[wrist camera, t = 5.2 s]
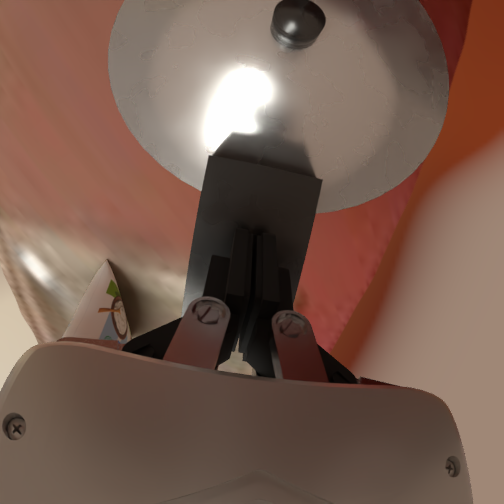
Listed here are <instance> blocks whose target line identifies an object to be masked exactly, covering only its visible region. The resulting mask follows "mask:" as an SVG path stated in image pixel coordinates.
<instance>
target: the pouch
mask: <svg viewBox="0 0 504 504" xmlns="http://www.w3.org/2000/svg"><path fill="white" fill-rule="evenodd" d="M63 337H77V338H89V339H102V340H118V343H120V344H126V343H127V342H128V341H130V340H132V337H131V331H130V328H129V324H128V321H127V317H126V313H125V309H124V305H123V302H122V298H121V295H120V292H119V289H118V286H117V282H116V280H115V277H114V274H113V272H112V269H111V267H110V265H109V263H108V260H106V261H105V262H104V264H103V265H102V266H101V267H100V269H99V270H98V271H97V273H96V274H95V276H94V277H93V279H92V281H91V282H90V284H89V286H88V288H87V289H86V291H85V293H84V295H83V297H82V299H81V301H80V303H79V305H78V307H77V309H76V311H75V313H74V315H73V318H72V320H71V321H70V323H69V325H68V327H67V329H66V331H65V333H64V335H63ZM63 337H62V338H63Z"/></svg>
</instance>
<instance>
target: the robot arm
mask: <svg viewBox="0 0 504 504" xmlns="http://www.w3.org/2000/svg"><path fill="white" fill-rule="evenodd" d="M252 249H253V252H252ZM239 334H240V336H239ZM238 338H239V349H238V352H240V353H243V361H246V362H248V363H249V364H250V365H251V366H252V367H253V369H252V375H244V374H237V373H231V372H224V371H218V366H219V365H220V364H221V363H223V362H225V361H226V360H228V359H230V355H231V351H233V352H234V351H235V348H236V345H237V341H238ZM0 504H473V498H472V490H471V484H470V478H469V473H468V468H467V463H466V458H465V453H464V449H463V446H462V442H461V439H460V435H459V432H458V429H457V426H456V423H455V421H454V418H453V416H452V413H451V411H450V409H449V408H448V406H447V405H446V403H445V402H444V401H443V400H442V399H440V398H439V397H437V396H435V395H434V394H431V393H429V392H426V391H423V390H420V389H415V388H411V387H402V386H397V385H393V384H389V383H384V382H380V381H376V380H372V379H368V378H364V377H360V378H359V379H357V378H355V376H354V375H353V374H352V373H351V372H350V371H349V370H348V369H347V368H345V367H344V366H343V365H342V364H340V363H339V362H338V361H337V360H336V359H335V358H334V357H332V356H331V355H330V354H329V353H328V352H326V351H325V350H324V349H323V348H322V347H320V346H319V345H318V344H317V342H316V339H315V336H314V333H313V330H312V327H311V324H310V322H309V321H308V320H307V318H306V317H305V316H303V315H302V314H300V313H298V312H295V311H293V300H292V291H291V281H290V272H289V269H287V268H282V267H278V261H277V246H276V235H272V234H267V233H262V235H261V236H260V235H257V236H256V240H255V244H254V248H253V234H249V230H247V229H242V228H236V229H235V234H234V238H233V243H232V248H231V253H230V258H228V257H223V256H218V255H212V257H211V261H210V265H209V269H208V274H207V278H206V282H205V287H204V291H203V296H202V297H199V298H196V299H194V300H193V301H191V303H190V304H189V305H188V307H187V309H186V312H185V314H184V316H183V317H181V318H179V319H177V320H174V321H172V322H170V323H168V324H166V325H163V326H161V327H159V328H157V329H154V330H152V331H150V332H147V333H145V334H143V335H141V336H138V337H136V338H134V339H132V340H130V341H128V342H127V343H126V344H120V343H118V340H102V339H89V338H77V337H63V338H61V339H59V340H57V341H56V342H47V343H42V344H38V345H36V346H33V347H32V348H30V349H29V350H27V351H26V352H25V353H24V355H22V356H21V358H20V359H19V360H18V362H17V363H16V364H15V366H14V367H13V369H12V371H11V372H10V374H9V376H8V377H7V379H6V382H5V383H4V385H3V388H2V389H1V391H0Z"/></svg>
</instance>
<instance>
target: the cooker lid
mask: <svg viewBox="0 0 504 504" xmlns="http://www.w3.org/2000/svg"><path fill="white" fill-rule="evenodd" d="M108 71H109V78H110V84H111V89H112V92H113V95H114V98H115V101H116V104H117V107H118V110H119V112H120V113H121V115H122V117H123V119H124V121H125V123H126V125H127V126H128V128H129V130H130V131H131V132H132V134H133V135H134V136H135V138H136V139H137V140H138V142H139V143H140V144H141V146H142V147H143V148H144V149H145V150H146V151H147V152H148V153H149V154H150V155H151V156H152V157H153V158H154V159H155V160H156V161H157V162H158V163H159V164H160V165H161V166H163V167H164V168H166V169H167V170H168V171H170V172H171V173H172V174H174V175H175V176H176V177H178V178H179V179H180V180H182V181H184V182H186V183H187V184H189V185H191V186H193V187H195V188H196V189H198V190H200V191H201V196H200V201H199V207H198V212H197V218H196V224H195V229H194V235H193V241H192V247H191V253H190V260H189V266H188V272H187V279H186V286H185V293H184V300H183V308H182V315H181V317H183V316H184V314H185V312H186V309H187V307H188V305H189V304H190V303H191V301H193V300H194V299H196V298H199V297H202V296H203V291H204V287H205V282H206V278H207V274H208V269H209V265H210V261H211V257H212V255H218V256H223V257H228V258H230V253H231V248H232V243H233V238H234V234H235V229H236V228H242V229H247V230H249V234H253V248H254V244H255V240H256V236H257V235H260V236H261V235H262V233H267V234H272V235H276V246H277V261H278V267H282V268H287V269H289V272H290V281H291V291H292V300H293V302H294V299H295V295H296V291H297V287H298V283H299V280H300V276H301V272H302V268H303V264H304V260H305V256H306V252H307V248H308V243H309V239H310V235H311V231H312V227H313V222H314V218H315V213H324V212H333V211H337V210H341V209H345V208H349V207H353V206H357V205H360V204H362V203H365V202H367V201H369V200H372V199H374V198H377V197H379V196H381V195H382V194H384V193H386V192H387V191H389V190H391V189H393V188H394V187H396V186H397V185H398V184H400V183H401V182H402V181H403V180H405V179H406V178H407V177H408V176H410V175H411V174H412V173H413V172H414V171H415V170H416V168H417V167H418V166H419V165H420V164H421V163H422V162H423V161H424V160H425V158H426V157H427V155H428V154H429V152H430V150H431V149H432V147H433V146H434V144H435V142H436V140H437V138H438V136H439V133H440V131H441V129H442V126H443V122H444V119H445V115H446V111H447V104H448V96H449V77H448V69H447V63H446V57H445V54H444V50H443V47H442V44H441V41H440V38H439V36H438V33H437V31H436V29H435V27H434V25H433V23H432V21H431V19H430V17H429V16H428V14H427V12H426V11H425V9H424V7H423V6H422V5H421V3H420V2H419V1H418V0H125V1H124V3H123V4H122V6H121V8H120V10H119V12H118V14H117V17H116V20H115V23H114V26H113V29H112V32H111V37H110V43H109V49H108ZM252 252H253V249H252ZM239 336H240V334H239Z"/></svg>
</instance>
